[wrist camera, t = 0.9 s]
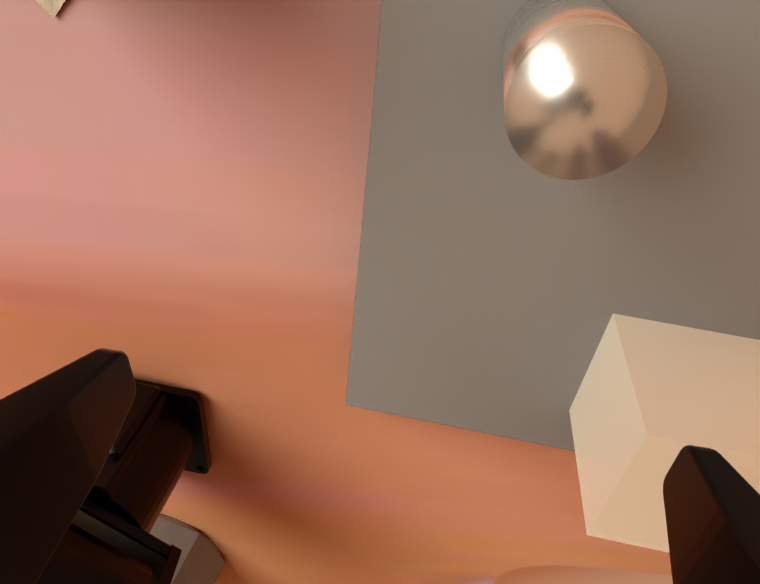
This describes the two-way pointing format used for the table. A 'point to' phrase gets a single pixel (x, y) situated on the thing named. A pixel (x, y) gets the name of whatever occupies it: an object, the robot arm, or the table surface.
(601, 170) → the post
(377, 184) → the base plate
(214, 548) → the coffeepot
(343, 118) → the table surface
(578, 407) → the cream colored cube
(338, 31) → the table surface
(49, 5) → the condiment
